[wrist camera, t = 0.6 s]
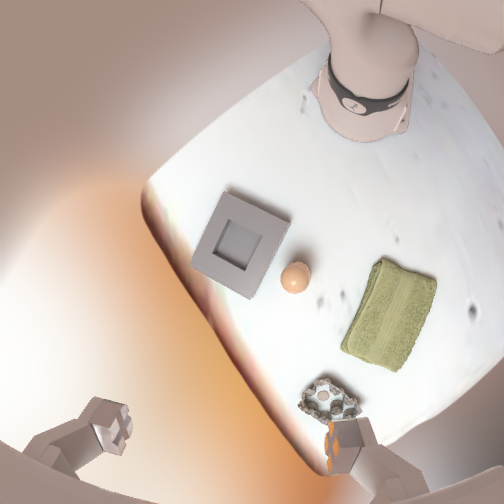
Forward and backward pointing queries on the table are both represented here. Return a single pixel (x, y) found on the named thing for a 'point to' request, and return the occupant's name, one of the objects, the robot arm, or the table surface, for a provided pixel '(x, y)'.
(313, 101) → the table surface
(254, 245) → the grey square peg hole
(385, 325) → the washcloth
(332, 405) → the egg carton
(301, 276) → the peach dome-topped peg
